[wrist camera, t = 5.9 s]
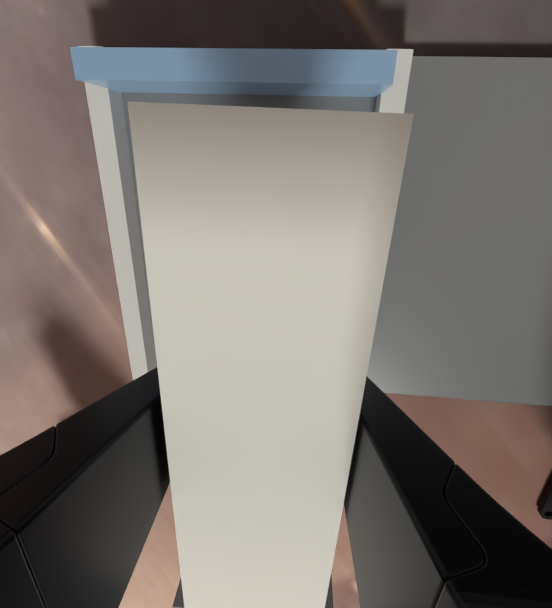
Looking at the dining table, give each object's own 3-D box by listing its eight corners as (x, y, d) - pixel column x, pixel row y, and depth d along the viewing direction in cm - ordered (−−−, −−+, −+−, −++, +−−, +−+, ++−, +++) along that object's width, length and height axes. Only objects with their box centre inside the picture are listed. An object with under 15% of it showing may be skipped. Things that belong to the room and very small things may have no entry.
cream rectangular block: (320, 511, 14) (326, 666, 10) (215, 500, 14) (178, 647, 10) (375, 127, 8) (440, 115, 4) (200, 119, 8) (103, 101, 4)
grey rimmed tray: (569, 402, 21) (622, 455, 18) (145, 368, 23) (114, 410, 20) (721, 62, 14) (859, 34, 11) (101, 55, 16) (40, 29, 13)
